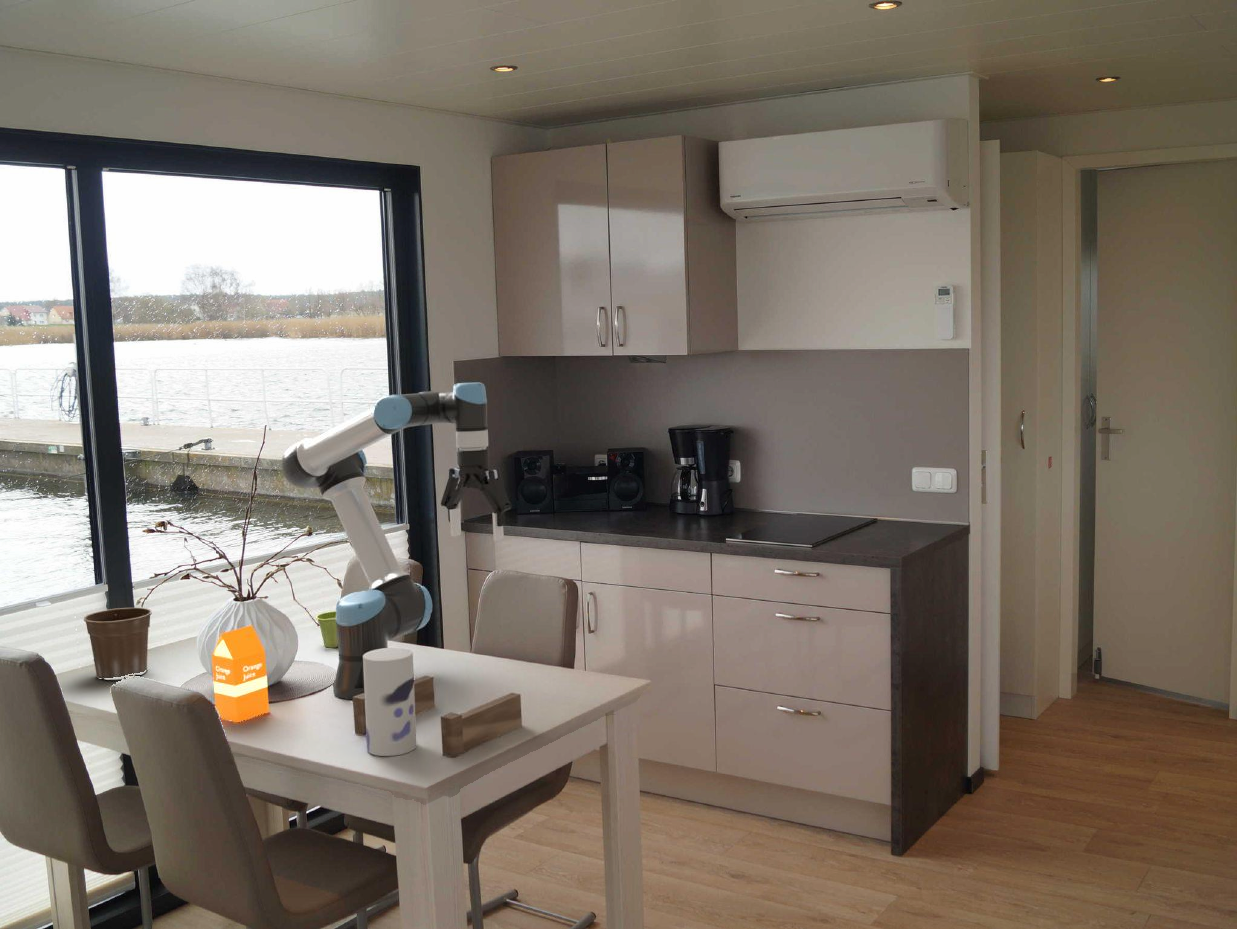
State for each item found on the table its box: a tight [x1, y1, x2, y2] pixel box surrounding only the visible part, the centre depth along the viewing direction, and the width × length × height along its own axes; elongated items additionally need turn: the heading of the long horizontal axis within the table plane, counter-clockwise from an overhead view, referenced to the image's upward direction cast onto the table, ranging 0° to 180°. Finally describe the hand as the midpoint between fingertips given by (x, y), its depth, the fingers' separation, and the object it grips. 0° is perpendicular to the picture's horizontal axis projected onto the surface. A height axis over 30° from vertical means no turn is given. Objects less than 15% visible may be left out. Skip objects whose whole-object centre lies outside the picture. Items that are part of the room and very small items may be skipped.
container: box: [363, 647, 418, 757], centre depth 233 cm, size 10×10×20 cm
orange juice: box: [211, 624, 270, 723], centre depth 258 cm, size 8×9×20 cm
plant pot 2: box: [315, 610, 338, 649], centre depth 318 cm, size 9×9×9 cm
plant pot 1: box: [83, 607, 153, 678], centre depth 295 cm, size 16×16×16 cm
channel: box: [352, 675, 523, 758], centre depth 244 cm, size 29×22×8 cm
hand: (477, 538), depth 269 cm, fingers open, 13 cm apart
